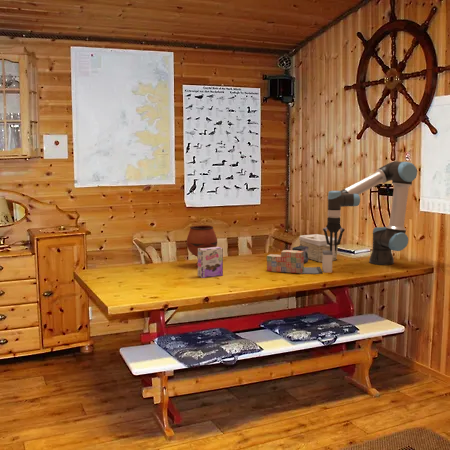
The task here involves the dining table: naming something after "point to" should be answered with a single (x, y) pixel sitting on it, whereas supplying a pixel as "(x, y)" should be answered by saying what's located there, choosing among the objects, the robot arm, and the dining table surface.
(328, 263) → the tall block
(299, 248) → the small box
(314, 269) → the pad
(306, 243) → the storage basket
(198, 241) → the terracotta clay vase
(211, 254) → the candy box
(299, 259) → the stack of blocks
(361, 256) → the dining table surface
